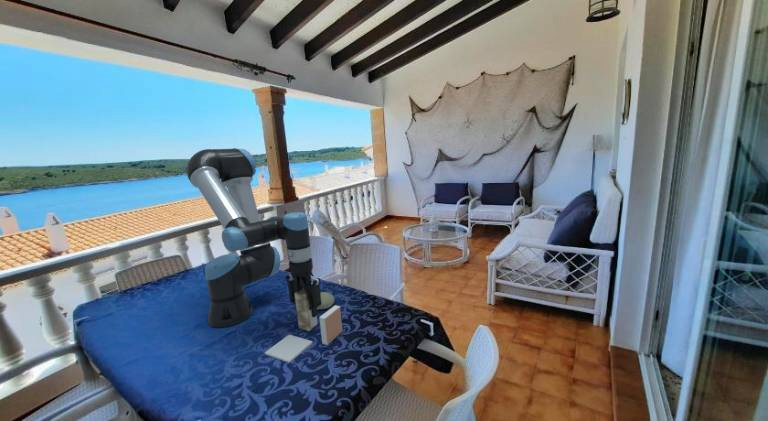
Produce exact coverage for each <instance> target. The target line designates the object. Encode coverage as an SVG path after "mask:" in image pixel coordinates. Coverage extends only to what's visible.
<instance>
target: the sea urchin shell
mask: <svg viewBox="0 0 768 421" xmlns="http://www.w3.org/2000/svg"><path fill="white" fill-rule="evenodd" d="M320 294H321V305H320V306H319V307H317V311H319V310H325V309H327V310H328V309H330V307H333V306H334V303H335V297H334V295H333V294H332V293H330V292H326V291H322V292H321V291H320Z"/></svg>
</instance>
